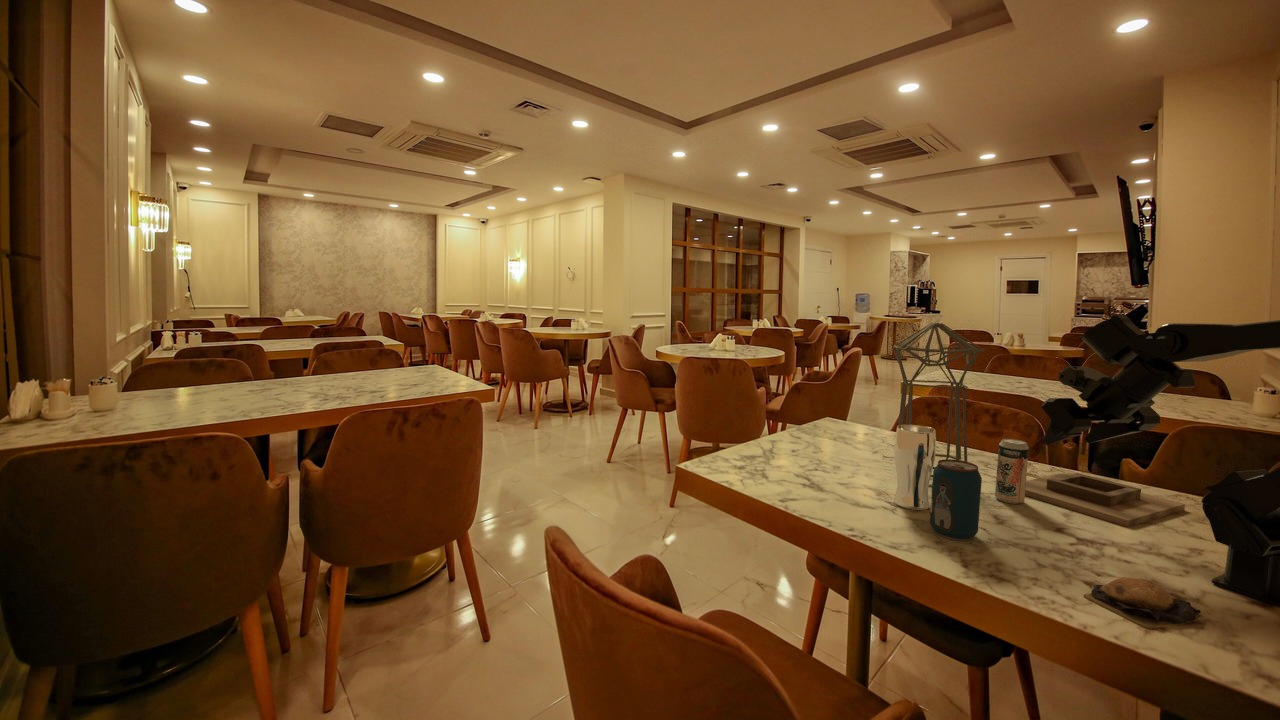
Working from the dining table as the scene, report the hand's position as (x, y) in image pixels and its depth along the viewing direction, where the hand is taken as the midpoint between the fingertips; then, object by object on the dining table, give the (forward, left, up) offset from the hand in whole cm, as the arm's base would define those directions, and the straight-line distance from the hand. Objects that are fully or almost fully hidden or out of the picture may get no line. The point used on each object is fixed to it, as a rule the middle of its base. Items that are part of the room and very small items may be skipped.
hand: (1066, 442), depth 94 cm
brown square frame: (+14, +2, -14) cm, 20 cm away
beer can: (-2, +8, -14) cm, 16 cm away
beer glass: (-22, +14, -14) cm, 29 cm away
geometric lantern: (-6, +23, -14) cm, 27 cm away
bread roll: (-25, -22, -14) cm, 36 cm away
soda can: (-27, +2, -14) cm, 30 cm away
